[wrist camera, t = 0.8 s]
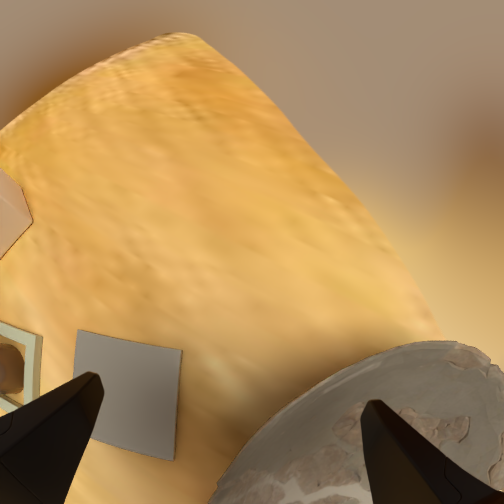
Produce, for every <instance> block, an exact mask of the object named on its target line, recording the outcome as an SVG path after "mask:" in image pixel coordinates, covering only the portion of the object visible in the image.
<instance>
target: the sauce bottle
mask: <svg viewBox="0 0 504 504" xmlns="http://www.w3.org/2000/svg"><path fill="white" fill-rule="evenodd" d="M24 366H25V363H24V360H23V357H22V355H21V354H20V352H19V351H18V349H17V348H16V347H14V346H13V345H9V344H2V343H0V394H15V393H19V392H21V391H22V390H23V388H24Z"/></svg>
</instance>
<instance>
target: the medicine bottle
mask: <svg viewBox="0 0 504 504" xmlns="http://www.w3.org/2000/svg"><path fill="white" fill-rule="evenodd" d="M32 222H33V220H32V217H31V215H30V212H29V209H28V206H27V204H26V201H25V198H24V195H23V192H22V189H21V187H20V186H19V185H18V184H17V183H16V182H15V181H14V180H13V179H12V178H10V177H9V176H8V175H7V174H6V173H5V172H4V171H3V170H2V169H1V168H0V259H1V257H2V256H3V255H4V254H5V253H6V251H7V250H8V249H9V248H10V247H11V246H12V244H13V243H14V242H15V241H16V240H17V239H18V238H19V237H20V235H21V234H22V233H23V232H24V231H25V230H26V229H27V228H28V227H29V226H30V225H31V224H32Z"/></svg>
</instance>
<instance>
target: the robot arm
mask: <svg viewBox="0 0 504 504" xmlns="http://www.w3.org/2000/svg"><path fill="white" fill-rule="evenodd" d="M104 394H105V392H104V387H103V384H102V381H101V378H100V375H99V374H97V373H94V372H91V371H87V372H85V373H83V374H81V375H80V376H78V377H76V378H74V379H72V380H70V381H69V382H67V383H65V384H63V385H61V386H59V387H57V388H56V389H54V390H52V391H50V392H48V393H46V394H44V395H42V396H40V397H39V398H37V399H35V400H33V401H31V402H29V403H27V404H25V405H23V406H21V407H19V408H18V409H16V410H14V411H12V412H10V413H8V414H6V415H4V416H2V417H0V504H64V502H65V499H66V496H67V494H68V491H69V488H70V486H71V483H72V480H73V478H74V475H75V473H76V470H77V468H78V465H79V463H80V460H81V458H82V456H83V453H84V451H85V448H86V446H87V444H88V441H89V439H90V437H91V435H92V432H93V430H94V427H95V423H96V420H97V417H98V414H99V411H100V407H101V404H102V401H103V398H104ZM360 424H361V433H362V443H363V454H364V461H365V466H366V470H367V475H368V480H369V485H370V490H371V496H372V501H373V504H504V492H500V491H498V490H495V489H494V488H492V487H490V486H489V485H487V484H485V483H484V482H482V481H480V480H479V479H477V478H476V477H474V476H473V475H471V474H470V473H468V472H467V471H465V470H464V469H462V468H461V467H460V466H458V465H457V464H456V463H455V462H453V461H452V460H451V459H450V458H449V457H447V456H446V455H445V454H444V453H443V452H441V451H440V450H439V449H438V448H437V447H435V446H434V445H433V444H432V443H431V442H429V441H428V440H427V439H426V438H425V437H424V436H422V435H421V434H420V433H419V432H418V431H417V430H415V429H414V428H413V427H412V426H411V425H410V424H409V423H407V422H406V421H405V420H404V419H403V418H402V417H400V416H399V415H398V414H397V413H396V412H395V411H394V410H392V409H391V408H390V407H389V406H388V405H387V404H386V403H384V402H383V401H382V400H381V399H371V400H369V401H368V402H367V404H366V406H365V408H364V410H363V412H362V414H361V417H360Z"/></svg>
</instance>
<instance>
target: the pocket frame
mask: <svg viewBox="0 0 504 504" xmlns="http://www.w3.org/2000/svg"><path fill="white" fill-rule="evenodd" d="M0 335H2V336H5V337H7V338H9V339H11V340H14V341H16V342H19V343H21V344H23V345H26V351H25V366H24V405H25V404H27V403H29V402H31V401H33V400H35V399H37V398H39V388H40V365H41V351H42V341H43V337H42V336H39V335H36V334H33V333H30V332H27V331H25V330H22V329H19V328H16V327H14V326H11V325H9V324H6V323H4V322H1V321H0ZM21 406H23V405H21V404H19V403H17V402H15V401H14V400H12V399H10V398H8V397H7V396H5V395H3V394H0V408H2V409H3V410H5V411H6V412H8V413H10V412H12V411H14V410H16V409H18V408H19V407H21Z"/></svg>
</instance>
